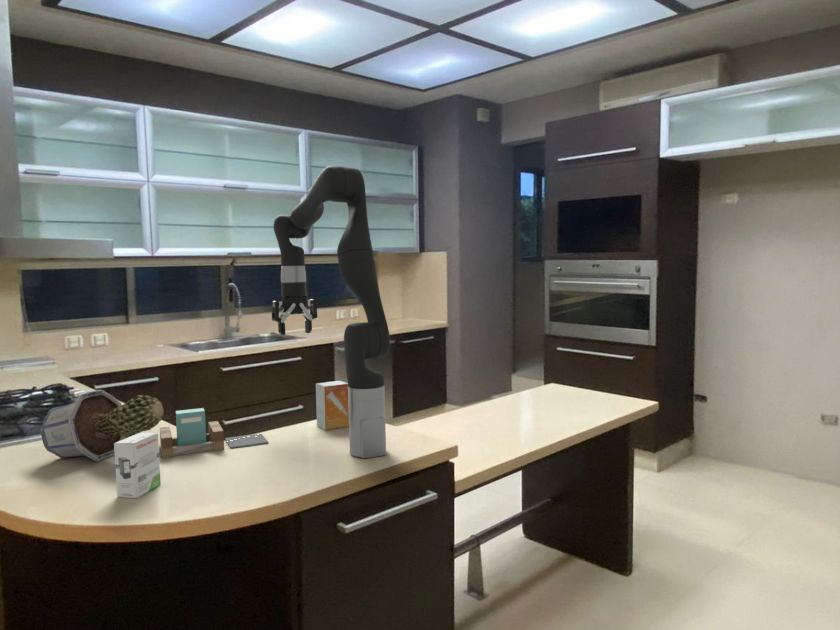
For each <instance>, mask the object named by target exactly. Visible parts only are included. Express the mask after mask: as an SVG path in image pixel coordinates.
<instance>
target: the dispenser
mask: <svg viewBox="0 0 840 630" xmlns="http://www.w3.org/2000/svg"><path fill="white" fill-rule="evenodd" d="M207 423H208V433H206V442H205V443H198V444H190V445H182V446H177V436H176V437H173V434H172V431H171V430H172V429H171V428H170V427H171V426H164V427H159V439H160V440H159V442H160V448H161V449H160V451H161V456H162V457H161V458H162V459H164V458H171V457H172V458H173V457H174V456H182V455H188V454H195V453H201V452H210V451H214V452H216V451H217V452H218V451H223V450H225V437H224V435H225V434H224V429H223V428H222V425H221V424H220V423H219V421H218V420H214V421H208V422H207Z"/></svg>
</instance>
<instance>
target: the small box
mask: <svg viewBox="0 0 840 630" xmlns="http://www.w3.org/2000/svg"><path fill="white" fill-rule="evenodd" d="M315 403H316V406H315V407H316V427H318V428H320V429H323V430H324V431H326V430H327V431H328V430H334V429H340V428H347V427H348V428H349V406H348V382H345V381H342V380H335V381H326V382H318V383H315Z"/></svg>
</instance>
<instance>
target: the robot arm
mask: <svg viewBox="0 0 840 630" xmlns="http://www.w3.org/2000/svg"><path fill="white" fill-rule="evenodd" d="M328 201H331V202H334V203H335V202H336V203H345V204H347V208H348V209H347V210H348V221H347V225H346V227H345V229H344V231H343V234H342V236H341V238H340V240H339V243H338V245H337V249H336V252H337V263H338V268H339V273H340V274H339V275H340V276H341V279H342V280H343V282H344V283H345V285H346V287H348V289H349V290H350V291H351V292H352V293H353V294H354V296H355V297H356V298H357V300H358V301H359V302H360V305H362V308H363V309H364V312H365V316H366V320H367V322H353V323H349V324H347V325H346V327H345V330H344V333H343V349H344V358H345V359H344V360H345V372H346V374H345V375H346V379H347V383H348V406H349V426H348V434H349V435H348V436H349V437H348V439H349V454H350V455H351V456H353V457H356V458H361V459H368V458H376V457H380V456H386V455H387V454H386V453H387V437H386V435H387V434H386V399H385V398H386V397H385V396H386V395H385V394H386V393H385V388H386V387H385V375H384V374H383V373H382V372H379V371H376V370H372V369H369V368H368V367H366V362H365V360H369V359H379V358H384V357H385V358H386V356H388V354H389V352H390V349H391V336H390V335H391V334H390V330H389V326H388V322H387V318H386V313H385V310H384V306H383V303H382V298H381V294H380V293H381V292H380V289H379V284H378V283H379V281H378V277H377V270H376V269H377V268H376V262H375V255H374V249H373V247H372V246H373V245H372V239H371V234H370V228H369V222H368V219H369V217H368V209H367V194H366V184H365V178H364V176H363V174H362V172H361V170H359V168H355V167H349V166H339V165H328V166H326V167H325V168H324V169H323V170H322V171H321V172H320V173H319V175H318V176H317V178H316V180H314V183H313V184H312V186H311V188H310V190H309V191H308V192H307V195H306V196H305V197H304V198H303V199H302V200H301V201H300V202H299V203H298V204H297V205H296V206H295V207H294V208H293V209H292V211H290V214H279V215H277V216H276V217H275V219H274V221H273V231H274V235H275V239H276V241H277V245H278V248H279V251H280V261H281V262H280V268H281V269H280V285H281V287H280V289H281V293H280V294H281V301H279V300H272V302H271V320H272V321H274V322H276V323H277V325H278V326H277V327H278V329H277V331H278V334H280V335H279V336H285V335H286V323H285V321H286V320H287V318H288V317H289V316H290V315H301V316H302V317H303V318H304V319H305V321H304V329H305V332H304V333H306V334H311V333H312V330H313V325H312V324H313V320H315V319H318V305H317V300H316V299H315V298H310V299H307V295H308V294H307V273H306V266H305V265H306V262H305V250H304V248H303V247H302V246H297V245H294V244H293V243H292V242H291V240H290V239H303V238H306V237H307V236H308V235H309V234H310V231H311V229H312V226H313V225H315V224H316V222H318V221H319V220H320V219H321V218H322V217H323V214H324V212H325V211H324V210H325V206H324V203H326V202H328ZM307 306H308V307H309V311H308V309H307ZM281 307H282V308H283V309H282V310H281V311H280V308H281Z"/></svg>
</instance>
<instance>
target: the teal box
mask: <svg viewBox="0 0 840 630" xmlns="http://www.w3.org/2000/svg"><path fill="white" fill-rule="evenodd" d="M175 424H176V425H175V426H176V427H175V428H176V437H177V446H182V445H190V444H198V443H205V442H206V434H207V430H206V429H207V428H206V412H205V408H204V407H201V408H199V407H198V408H191V409H189V408H188V409H183V410H181V409H180V410H175Z"/></svg>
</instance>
